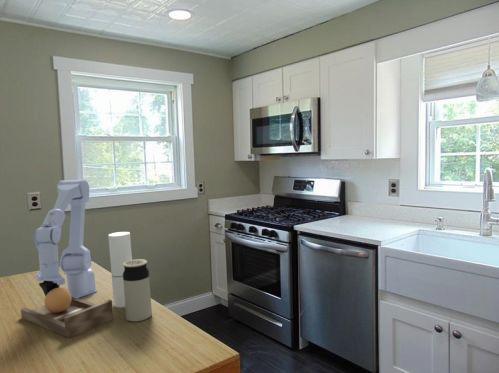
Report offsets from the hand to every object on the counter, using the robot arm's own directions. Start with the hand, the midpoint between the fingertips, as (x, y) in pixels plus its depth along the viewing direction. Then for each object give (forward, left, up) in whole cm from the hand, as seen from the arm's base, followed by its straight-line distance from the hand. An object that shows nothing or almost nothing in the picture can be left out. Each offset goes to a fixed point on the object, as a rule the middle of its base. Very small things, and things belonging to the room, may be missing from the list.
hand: (51, 302), depth 127 cm
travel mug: (-13, +28, -4) cm, 31 cm away
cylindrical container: (-18, +14, -4) cm, 23 cm away
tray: (-1, +7, -4) cm, 8 cm away
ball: (0, +3, +1) cm, 4 cm away
